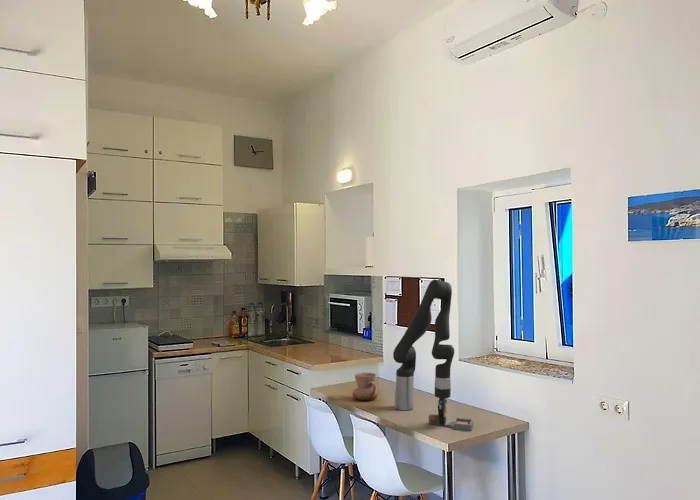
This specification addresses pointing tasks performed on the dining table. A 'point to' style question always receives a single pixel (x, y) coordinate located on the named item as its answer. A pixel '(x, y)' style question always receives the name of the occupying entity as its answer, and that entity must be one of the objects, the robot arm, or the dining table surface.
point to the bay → (464, 426)
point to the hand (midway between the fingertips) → (442, 423)
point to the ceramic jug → (365, 386)
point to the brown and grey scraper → (435, 420)
